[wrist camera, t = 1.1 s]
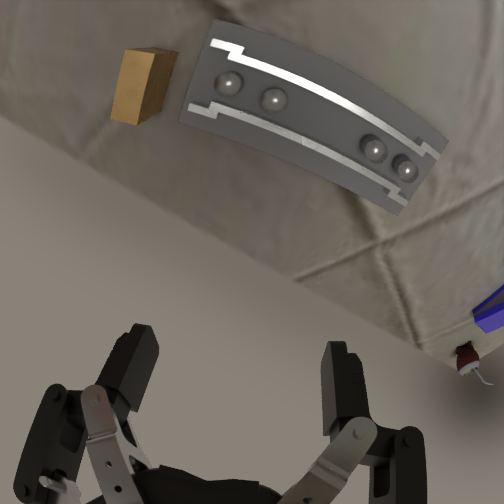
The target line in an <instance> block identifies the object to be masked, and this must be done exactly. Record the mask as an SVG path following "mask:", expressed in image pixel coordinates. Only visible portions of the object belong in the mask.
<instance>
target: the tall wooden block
mask: <svg viewBox="0 0 504 504" xmlns="http://www.w3.org/2000/svg"><path fill="white" fill-rule="evenodd" d="M178 53H179V52H175V51H170V50H165V49H159V48H154V47H152V48H136V49H125V53H124V57H123V60H122V64H121V68H120V73H119V77H118V81H117V86H116V91H115V96H114V101H113V107H112V113H111V119H113V120H117V121H121V122H125V123H129V124H133V125H136V126H137V125H139V124H140V123H142V122H143V121H145V120H146V119H148V118H150V117H151V116H153V115H155V114H156V113H158V112H160V111H161V109H162V105H163V102H164V98H165V94H166V91H167V87H168V84H169V81H170V77H171V74H172V71H173V68H174V65H175V62H176V59H177V56H178Z"/></svg>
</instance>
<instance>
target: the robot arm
mask: <svg viewBox="0 0 504 504" xmlns="http://www.w3.org/2000/svg"><path fill="white" fill-rule="evenodd" d="M158 355H159V345H158V343H157V340H156V337H155V335H154V332H153V330H152V327H151V326H149V325H143V324H137V323H135V324H134V325H133V326H132V328H131V330H130V332H129V333H126V332H125V333H124V334H123V335H122V336H121V337H120V338H118V339H117V341H116V343H115V345H114V347H113V350H112V351H111V353H110V356H109V357H108V359H107V361H106V363H105V365H104V367H103V369H102V371H101V374H100V375H99V377H98V380H97V381H96V383H95V384H94V385H90V386H88V387H87V388H85V389H84V390H82V391H80V390H79V391H78V390H77V391H76V390H67V389H66V388H65V387H64V386H62V385H61V384H53V385H51V386H50V387H49V388H48V389H47V390H46V392H45V394H44V397H43V399H42V401H41V404H40V406H39V408H38V411H37V413H36V416H35V418H34V421H33V424H32V426H31V429H30V431H29V434H28V437H27V440H26V443H25V446H24V449H23V452H22V455H21V458H20V461H19V465H18V469H17V472H16V476H15V480H14V484H13V489H14V492H15V495H16V497H17V498H18V499H19V500H20V501H21V502H22V503H24V504H81V503H80V500H79V498H80V497H81V492H80V491H79V489H78V487H77V485H76V483H75V482H76V478H77V475H78V470H79V467H80V463H81V460H82V456H83V453H84V449H85V446H86V447H87V450H88V454H89V457H90V460H91V464H92V467H93V470H94V472H95V475H96V478H97V481H98V483H99V486H100V489H101V491H102V494H103V495H101V496H99V497H97V498H95V499H94V500H92V501H90V502H88V503H86V504H330V503H331V502H332V501H333V500H334V498H335V497H336V496H337V495H338V494H339V493H340V491H341V490H342V489H343V487H344V486H345V485H346V483H347V479H348V478H349V476H350V475H351V473H352V472H353V470H354V469H355V468H356V467H357V465H358V464H362V465H367V466H370V483H369V504H427V472H426V457H425V446H424V438H423V434H422V432H421V431H420V430H419V429H418V428H416V427H413V426H407V427H404V428H402V429H401V430H395V429H390V428H385V427H381V426H379V425H377V424H376V423H375V422H374V421H373V420H372V418H371V416H370V413H369V406H368V399H367V392H366V385H365V379H364V375H363V367H362V362H361V361H360V359H359V358H358V356H357V355H356V353H348V352H347V346H346V342H344V341H328V343H327V346H326V349H325V352H324V355H323V358H322V362H321V387H322V410H323V436H330V444H329V445H328V446H327V448H326V449H325V450H324V451H323V453H322V454H321V455H320V456H319V457H318V458H317V460H316V461H315V462H314V463H313V464H312V465H311V466H310V468H309V469H308V470H307V471H306V472H305V473H304V474H303V475H302V476H301V477H300V478H299V479H298V480H297V481H296V482H295V483H294V484H293V485H292V486H291V487H290V488H289V489H288V490H287V491H286V492H285V493H284V494H283V495H282V496H281V495H280V494H279V493H278V492H276V491H275V490H273V489H271V488H269V487H266V486H264V485H260V484H259V482H258V481H247V480H238V479H228V480H215V481H206V480H203V479H201V478H199V477H196V476H194V475H192V474H189V473H187V472H185V471H183V470H179V469H175V468H171V467H167V466H163V465H160V467H159V468H152V466H151V464H150V462H149V460H148V458H147V457H146V455H145V454H144V453H143V451H142V450H141V448H140V446H139V443H138V441H137V438H136V436H135V433H134V431H133V428H132V425H131V423H130V420H129V417H128V414H129V411H130V410H131V411H134V412H138V409H139V407H140V404H141V401H142V398H143V396H144V393H145V390H146V387H147V385H148V382H149V379H150V377H151V374H152V371H153V369H154V366H155V363H156V361H157V358H158ZM88 436H89V439H88Z"/></svg>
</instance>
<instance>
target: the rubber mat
mask: <svg viewBox="0 0 504 504" xmlns="http://www.w3.org/2000/svg"><path fill="white" fill-rule="evenodd" d="M212 39H218V40H221V41H225V42H229V43H232V44H235V45H239V46H242V47H245V48H246V49H245V51H244V53H243V55H245V56H248V57H251V58H254V59H257V60H260V61H263V62H266V63H268V64H271V65H274V66H276V67H279V68H281V69H284V70H286V71H289V72H291V73H294V74H296V75H298V76H300V77H303V78H305V79H307V80H309V81H312V82H314V83H316V84H318V85H320V86H322V87H324V88H326V89H328V90H330V91H332V92H334V93H336V94H338V95H340V96H342V97H344V98H345V99H347V100H349V101H351V102H353V103H355V104H356V105H358V106H360V107H362V108H363V109H365V110H367V111H368V112H370V113H372V114H373V115H375V116H377V117H378V118H380V119H381V120H383V121H384V122H386V123H388V124H389V125H391V126H392V127H394V128H395V129H397V130H398V131H400V132H401V133H402V134H404V135H405V136H407V137H408V138H409V139H411V140H412V141H414V142H415V140H416V139H417V137H419V138H420V139H422V140H423V141H424V142H426V143H427V144H428V145H429V146H431V147H432V148H433V149H434V150H436V151H437V152H438V153H439V154H440V155H441V153H442V152H443V150H444V148H445V147H446V145H447V144H448V142H449V140H447V139H446V138H445V137H444V136H443V135H442V134H441V133H439V132H438V131H437V130H436V129H435V128H433V127H432V126H431V125H430V124H429V123H427V122H426V121H425V120H423V119H422V118H421V117H420V116H418V115H417V114H416V113H414V112H413V111H412V110H410V109H409V108H408V107H406V106H405V105H403V104H402V103H401V102H399V101H398V100H396V99H395V98H393V97H392V96H390V95H389V94H387V93H386V92H384V91H383V90H381V89H380V88H378V87H377V86H375V85H373V84H372V83H370V82H368V81H367V80H365V79H363V78H362V77H360V76H358V75H356V74H355V73H353V72H351V71H349V70H347V69H346V68H344V67H342V66H340V65H338V64H336V63H334V62H332V61H330V60H328V59H326V58H324V57H322V56H320V55H318V54H315V53H313V52H311V51H309V50H307V49H304V48H302V47H300V46H297V45H295V44H292V43H290V42H287V41H285V40H282V39H279V38H277V37H274V36H271V35H268V34H265V33H263V32H260V31H256V30H253V29H250V28H247V27H244V26H240V25H237V24H233V23H229V22H225V21H221V20H217V19H214V20H213V23H212V25H211V28H210V30H209V32H208V35H207V37H206V40H205V42H204V45H203V48H202V50H201V53H200V56H199V58H198V61H197V64H196V67H195V69H194V72H193V75H192V78H191V81H190V84H189V87H188V90H187V93H186V97H185V100H184V103H183V106H182V110H181V113H180V117H179V120H178V123H182V124H185V125H188V126H191V127H195V128H198V129H201V130H204V131H207V132H210V133H213V134H216V135H219V136H222V137H225V138H228V139H230V140H233V141H236V142H239V143H241V144H244V145H247V146H249V147H252V148H255V149H257V150H260V151H262V152H265V153H268V154H270V155H273V156H275V157H277V158H280V159H282V160H285V161H287V162H289V163H292V164H294V165H296V166H299V167H301V168H303V169H306V170H308V171H310V172H312V173H314V174H317V175H319V176H321V177H323V178H325V179H327V180H330V181H332V182H334V183H336V184H338V185H340V186H342V187H344V188H346V189H348V190H350V191H352V192H354V193H356V194H358V195H360V196H362V197H364V198H366V199H368V200H369V201H371V202H373V203H375V204H377V205H379V206H381V207H383V208H384V209H386V210H388V211H390V212H392V213H393V214H395V215H398V214H399V213H400V211H401V210H402V209H403V207H404V206H403V205H402V204H400V203H398V202H397V201H395V200H393V199H392V198H390V197H388V196H387V195H386V193H385V191H384V190H383V189H384V188H385V187H384V186H383V185H381V184H379V183H377V182H376V181H374V180H372V179H370V178H368V177H367V176H365V175H363V174H361V173H359V172H357V171H355V170H354V169H352V168H350V167H348V166H346V165H344V164H342V163H340V162H338V161H336V160H334V159H332V158H330V157H328V156H326V155H324V154H322V153H320V152H318V151H315V150H313V149H311V148H309V147H307V146H305V145H302V144H300V143H298V142H296V141H293V140H291V139H289V138H286V137H284V136H281V135H279V134H277V133H274V132H272V131H269V130H267V129H264V128H262V127H259V126H256V125H254V124H251V123H248V122H246V121H243V120H240V119H237V118H235V117H232V116H229V115H226V114H223V113H220V114H219V116H218V117H217V118H216V119H214V118H211V117H208V116H204V115H201V114H198V113H195V112H191V111H188V107H189V104H190V103H191V102H192V101H198V102H201V103H204V104H208V105H210V104H211V101H213V100H214V99H216V100H219V101H222V102H225V103H228V104H231V105H234V106H237V107H240V108H243V109H246V110H248V111H251V112H254V113H256V114H259V115H262V116H264V117H267V118H269V119H272V120H274V121H277V122H279V123H282V124H284V125H286V126H289V127H291V128H293V129H296V130H298V131H300V132H302V133H305V134H307V135H309V136H311V137H313V138H315V139H317V140H320V141H322V142H324V143H326V144H328V145H330V146H332V147H334V148H336V149H338V150H340V151H342V152H344V153H346V154H347V155H349V156H351V157H353V158H355V159H357V160H359V161H360V162H362V163H364V164H366V165H368V166H369V167H371V168H373V169H375V170H376V171H378V172H380V173H381V174H383V175H385V176H387V177H388V178H390V179H391V180H393V181H395V182H396V183H397V184H398V185H399V187H400V188H401V190H400V191H399V192H401V193H402V194H404V195H405V196H406V198H407V199H408V201H409V199H410V198H411V197H412V195H413V194H414V193H415V191H416V190H417V188H418V187H419V186H420V184H421V183H422V181H423V180H424V178H425V177H426V176H427V174H428V173H429V171H430V170H431V168H432V167H433V165H434V164H435V162H436V161H437V160H436V159H435V158H434V157H433V156H431V155H430V154H429V153H427V152H426V153H425V154H424V156H423V157H422V156H420V155H419V154H418V153H416V152H415V151H413V150H412V149H411V148H409V147H408V146H406V145H405V144H404V143H402V142H401V141H399V140H398V139H396V138H395V137H393V136H392V135H390V134H389V133H387V132H385V131H384V130H382V129H381V128H379V127H378V126H376V125H374V124H373V123H371V122H369V121H368V120H366V119H364V118H363V117H361V116H359V115H357V114H356V113H354V112H352V111H350V110H348V109H347V108H345V107H343V106H341V105H339V104H337V103H335V102H333V101H331V100H329V99H327V98H325V97H323V96H321V95H319V94H317V93H315V92H313V91H311V90H309V89H306V88H304V87H302V86H300V85H297V84H295V83H293V82H290V81H288V80H286V79H283V78H281V77H278V76H276V75H273V74H270V73H268V72H265V71H262V70H260V69H257V68H254V67H251V66H248V65H245V64H242V63H239V62H236V61H233V60H229V59H228V56H229V54H230V51H227V50H224V49H220V48H216V47H213V46H210V44H211V42H212ZM227 71H236V72H238V73H240V74H241V75H242V76H243V79H244V85H243V87H242V89H241V90H240V91H239V92H237V93H236V94H235V95H233V96H231V97H223V96H221V95H219V94H218V93H217V92H216V91H215V89H214V81H215V79H216V77H217V76H218V75H220V74H222V73H225V72H227ZM273 86H277V87H280V88H282V89H283V90H284V91H285V92H286V94H287V98H288V106H287V108H286V109H285V110H284V111H283V112H282V113H279V114H270V113H268V112H266V111H265V110H264V109H263V107H262V105H261V98H262V96H263V93H264V91H265V90H266V89H267V88H269V87H273ZM366 134H374V135H376V136H377V137H378V138H379V139H380V140H381V141H382V142H383V143H384V144H385V145H386V146H387V148H388V156H387V158H386V160H385V161H384V162H382V163H380V164H374V163H372V162H370V161H369V160H368V159H367V157H366V156H365V154H364V153H363V152H362V150H361V149H360V145H359V144H360V140H361V138H362V137H363V136H364V135H366ZM398 154H405V155H407V156H408V157H409V158H410V159H411V160H412V162H413V163H414V164H415V165H416V166H417V167H418V169H419V175H418V178H417V179H416V180H415V181H414V182H412V183H404V182H403V181H402V180H401V179H400V178H399V176H398V175H397V174H396V172H395V171H394V170H393V168H392V165H391V163H392V159H393V158H394V157H395V156H396V155H398Z"/></svg>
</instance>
